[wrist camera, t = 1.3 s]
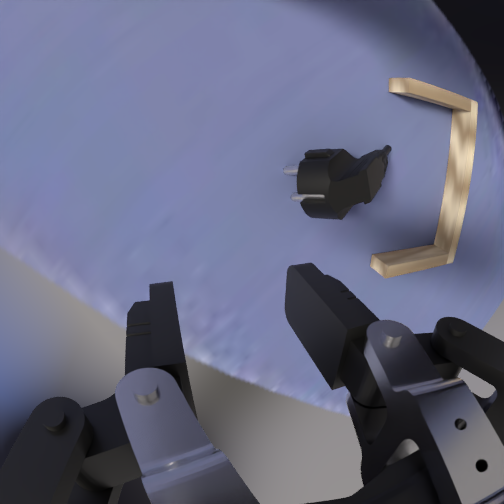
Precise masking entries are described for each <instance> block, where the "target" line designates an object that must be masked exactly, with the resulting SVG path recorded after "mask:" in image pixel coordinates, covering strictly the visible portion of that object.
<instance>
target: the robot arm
mask: <svg viewBox="0 0 504 504" xmlns="http://www.w3.org/2000/svg"><path fill="white" fill-rule="evenodd" d="M285 314H286V318H287V320H288V323H289V324H290V326H291V327H292V329H293V330H294V332H295V334H296V335H297V337H298V338H299V340H300V341H301V343H302V344H303V346H304V348H305V349H306V351H307V352H308V354H309V355H310V357H311V358H312V360H313V361H314V363H315V365H316V366H317V368H318V369H319V371H320V372H321V374H322V375H323V377H324V378H325V380H326V382H327V383H328V385H329V386H330V388H331V389H332V390H334V389H337V388H340V387H343V386H346V388H347V389H348V390H349V391H348V394H347V397H346V403H347V406H348V409H349V413H350V416H351V419H352V422H353V425H354V428H355V431H356V435H357V438H358V441H359V444H360V447H361V451H362V460H361V478H362V482H363V485H364V487H363V488H361V489H360V490H359V491H358V492H356V493H355V494H353V495H352V496H350V497H346V498H341V499H335V500H329V501H322V502H315V503H306V504H504V342H503V341H501V340H499V339H497V338H495V337H494V336H492V335H490V334H488V333H486V332H484V331H482V330H481V329H479V328H477V327H475V326H473V325H471V324H469V323H467V322H465V321H463V320H461V319H458V318H455V317H444V318H441V319H440V320H439V321H438V322H437V324H436V326H435V329H434V332H433V333H421V334H413V332H412V331H411V330H410V329H409V328H408V327H407V326H405V325H403V324H402V323H399V322H396V321H392V320H379V319H378V318H377V317H376V316H375V315H374V314H373V313H372V312H371V311H370V310H369V309H368V308H367V307H366V306H365V305H364V304H363V303H362V302H361V301H360V300H359V299H358V298H356V296H355V295H354V294H353V293H352V292H351V291H349V289H348V288H347V287H346V286H345V285H344V284H343V283H342V282H341V281H339V280H337V279H335V278H333V277H331V276H329V275H324V274H323V273H322V272H321V271H320V270H319V269H318V268H317V267H316V266H315V265H314V264H313V263H305V264H298V265H291V266H289V267H288V270H287V280H286V295H285ZM126 335H127V337H126V355H125V356H126V357H125V376H124V377H123V378H122V379H121V380H120V382H119V383H118V385H117V386H116V390H115V394H113V395H112V396H111V397H109V398H107V399H105V400H103V401H101V402H98V403H95V404H92V405H89V406H87V407H84V408H81V407H80V405H79V404H78V403H77V402H75V401H74V400H72V399H69V398H66V397H54V398H50V399H47V400H45V401H43V402H42V403H40V404H39V405H38V406H37V407H36V408H35V409H34V410H33V412H32V414H31V415H30V417H29V419H28V420H27V422H26V424H25V425H24V427H23V429H22V431H21V432H20V434H19V436H18V438H17V440H16V441H15V443H14V445H13V447H12V449H11V451H10V453H9V454H8V456H7V458H6V460H5V462H4V464H3V466H2V468H1V470H0V504H117V502H118V499H119V496H120V493H121V490H122V486H123V483H125V482H128V481H130V480H133V479H136V478H138V477H141V478H142V482H143V485H144V487H145V490H146V492H147V494H148V497H149V499H150V501H151V503H152V504H260V503H259V502H258V501H257V499H256V498H255V497H254V495H253V494H252V493H251V491H250V490H249V488H248V487H247V485H246V484H245V483H244V481H243V480H242V478H241V477H240V476H239V474H238V473H237V472H236V470H235V468H234V467H233V466H232V464H231V462H230V461H229V460H228V459H227V457H226V456H225V454H224V453H223V452H222V451H221V450H220V449H215V448H214V446H213V445H212V444H211V442H210V441H209V439H208V437H207V436H206V434H205V432H204V431H203V429H202V427H201V426H200V424H199V422H198V419H197V415H196V410H195V406H194V401H193V396H192V391H191V386H190V382H189V376H188V371H187V365H186V360H185V355H184V349H183V344H182V338H181V332H180V326H179V320H178V314H177V308H176V301H175V295H174V288H173V281H171V282H163V283H155V284H150V300H149V301H141V302H135V303H134V304H133V306H132V307H131V309H130V310H129V312H128V314H127V331H126ZM462 368H464V369H465V370H467V371H469V372H470V373H472V374H474V375H476V376H478V377H479V378H481V379H483V380H484V381H486V382H488V383H489V384H491V385H493V386H494V387H495V388H496V391H495V392H494V393H493V395H492V396H490V397H489V398H481V397H479V396H477V395H476V394H474V393H472V392H471V390H470V389H469V387H468V386H467V384H466V383H465V382H464V381H463V380H462V379H460V378H458V377H457V376H458V374H459V373H460V371H461V369H462Z"/></svg>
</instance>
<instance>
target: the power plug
mask: <svg viewBox="0 0 504 504" xmlns="http://www.w3.org/2000/svg"><path fill="white" fill-rule="evenodd" d="M390 151H391V147H390V146H389V145H386V146H385V147H384V149H383V150H375V151H372V152H370V153H368V154H366V155H364V156H362V157H361V158H359V159H356V158H354V157H353V156H351V155H350V154H349V153H348V152H347V151H346V150H344V149H318V150H309V151H307V152H306V153H305V159H303V160H302V161H301V162H300V164H299V166H286V167H284V168H283V173H284V174H285V175H297V191H298V193H293V194H291V200H292V201H294V202H300V204H301V206H302V208H303V210H304V211H305V213H306V214H307V215H308V216H310V217H312V218H324V219H340V220H342V219H343V218H344V217H345V215H346V214H347V213H348V211H349V210H350V209H351V207H352V206H353V205H355V204H358V203H361V202H363V201H364V204H367V203H370V202H371V201H372V199H373V198H374V196H375V195H376V193H377V192H378V190H379V189H380V187H381V182H382V179H383V178H384V176H385V171H386V168H387V164H388V160H387V155H388V153H389V152H390Z"/></svg>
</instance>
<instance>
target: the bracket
mask: <svg viewBox="0 0 504 504" xmlns="http://www.w3.org/2000/svg"><path fill="white" fill-rule="evenodd" d="M389 92H392V93H396V94H400V95H404V96H409V97H413V98H416V99H420V100H424V101H428V102H431V103H435V104H438V105H441V106H445V107H448V108H451V109H452V126H451V139H450V150H449V159H448V167H447V175H446V182H445V188H444V195H443V201H442V206H441V212H440V217H439V222H438V227H437V232H436V237H435V241H434V244H433V245H427V246H421V247H415V248H409V249H403V250H397V251H390V252H384V253H378V254H372V258H371V264H370V267H372V268H373V269H374V270H375V271H377V272H378V273H379V274H380V275H382V276H383V277H384V278H389V277H394V276H398V275H403V274H407V273H412V272H416V271H420V270H425V269H429V268H433V267H437V266H441V265H445V264H449V263H453V260H454V256H455V253H456V249H457V245H458V241H459V237H460V232H461V228H462V223H463V219H464V214H465V209H466V204H467V198H468V192H469V186H470V180H471V173H472V166H473V158H474V149H475V139H476V126H477V108H478V102H476V101H473V100H471V99H468V98H466V97H463V96H461V95H458V94H456V93H453V92H450V91H448V90H445V89H442V88H439V87H436V86H433V85H430V84H427V83H424V82H421V81H418V80H415V79H411V78H389Z"/></svg>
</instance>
